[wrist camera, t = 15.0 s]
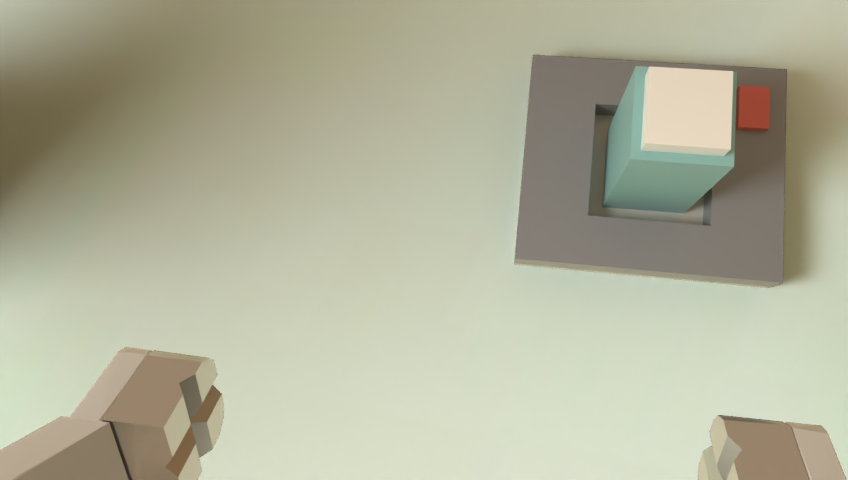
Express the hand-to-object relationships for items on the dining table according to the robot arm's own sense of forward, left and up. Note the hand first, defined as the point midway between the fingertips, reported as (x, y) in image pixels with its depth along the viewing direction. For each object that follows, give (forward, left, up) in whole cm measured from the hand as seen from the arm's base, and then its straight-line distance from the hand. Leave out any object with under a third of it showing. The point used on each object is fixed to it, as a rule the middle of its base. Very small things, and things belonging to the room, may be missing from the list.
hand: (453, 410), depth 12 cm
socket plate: (+8, +13, -29) cm, 33 cm away
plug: (+8, +13, -29) cm, 33 cm away
